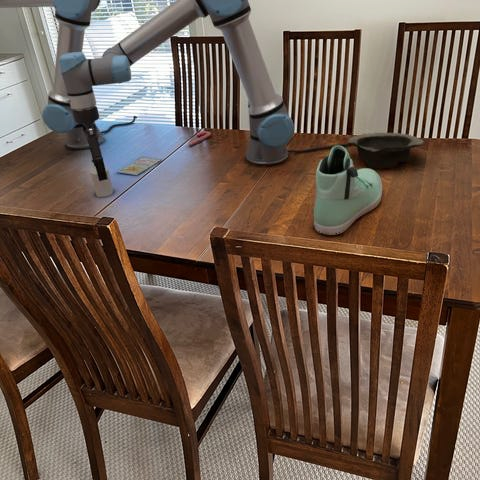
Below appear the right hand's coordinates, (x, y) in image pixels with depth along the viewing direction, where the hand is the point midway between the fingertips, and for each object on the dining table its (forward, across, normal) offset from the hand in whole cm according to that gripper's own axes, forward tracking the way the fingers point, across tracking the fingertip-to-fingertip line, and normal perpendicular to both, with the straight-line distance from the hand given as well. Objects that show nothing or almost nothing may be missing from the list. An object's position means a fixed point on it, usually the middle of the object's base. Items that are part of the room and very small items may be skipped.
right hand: (100, 172), depth 156 cm
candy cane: (+8, -33, +42) cm, 54 cm away
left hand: (-20, -58, -38) cm, 72 cm away
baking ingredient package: (+8, -17, +14) cm, 24 cm away
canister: (+7, 0, 0) cm, 8 cm away
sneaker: (+9, +47, +64) cm, 80 cm away
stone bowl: (+9, +22, +93) cm, 96 cm away
